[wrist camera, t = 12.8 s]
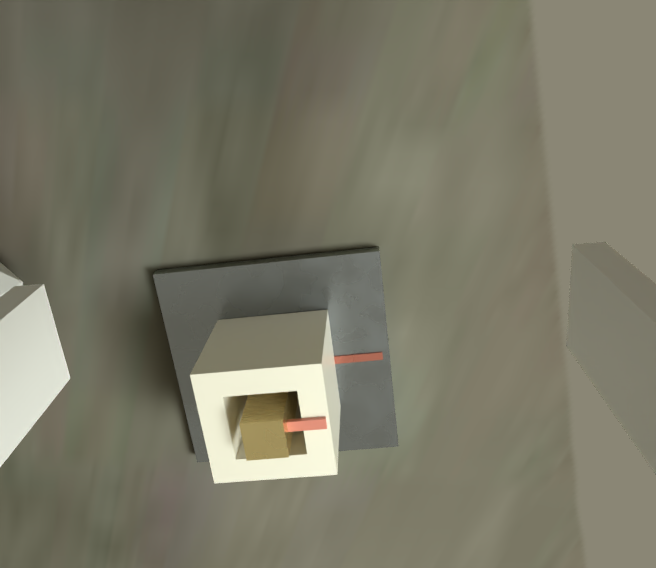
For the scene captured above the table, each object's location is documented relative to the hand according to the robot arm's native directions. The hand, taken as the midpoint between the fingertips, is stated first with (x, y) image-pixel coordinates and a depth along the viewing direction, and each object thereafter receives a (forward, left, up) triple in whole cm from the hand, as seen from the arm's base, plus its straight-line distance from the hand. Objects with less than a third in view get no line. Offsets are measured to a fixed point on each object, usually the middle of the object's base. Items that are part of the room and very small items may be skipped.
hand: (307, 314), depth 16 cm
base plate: (-6, -15, -27) cm, 32 cm away
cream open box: (-6, -15, -26) cm, 31 cm away
